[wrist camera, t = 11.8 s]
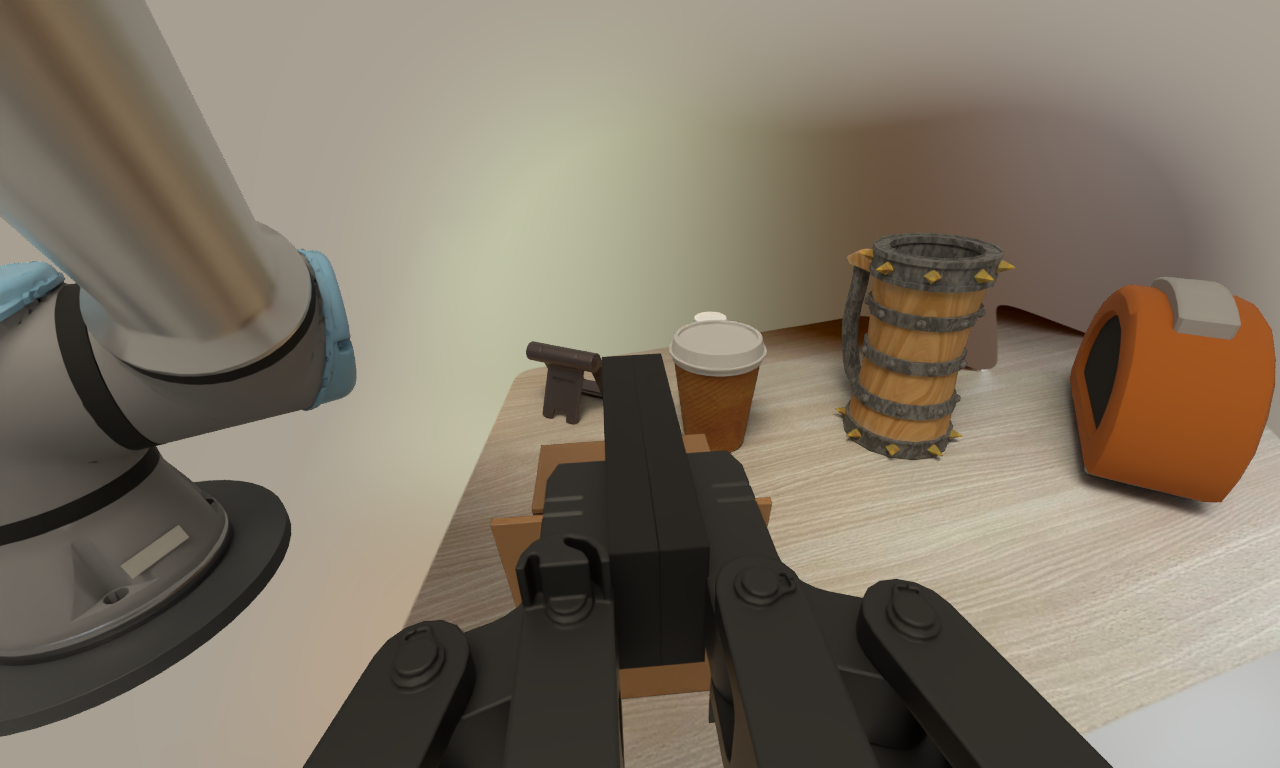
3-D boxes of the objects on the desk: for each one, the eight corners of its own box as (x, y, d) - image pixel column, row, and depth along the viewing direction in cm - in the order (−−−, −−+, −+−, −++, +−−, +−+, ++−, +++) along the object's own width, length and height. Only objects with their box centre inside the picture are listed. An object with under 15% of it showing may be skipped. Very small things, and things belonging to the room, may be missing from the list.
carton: (702, 521, 47) (705, 432, 42) (744, 687, 34) (754, 584, 29) (553, 533, 46) (540, 444, 42) (537, 707, 33) (516, 605, 29)
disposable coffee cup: (701, 475, 52) (703, 366, 47) (654, 429, 60) (651, 330, 54) (777, 447, 56) (788, 342, 50) (724, 406, 64) (729, 311, 58)
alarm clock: (1063, 384, 66) (1117, 247, 58) (1159, 401, 61) (1231, 257, 53) (1079, 493, 48) (1159, 321, 40) (1215, 529, 44) (1334, 343, 36)
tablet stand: (624, 397, 66) (621, 335, 62) (592, 429, 60) (586, 363, 56) (565, 383, 70) (558, 324, 66) (528, 413, 64) (518, 349, 60)
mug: (887, 479, 51) (935, 275, 41) (787, 396, 65) (805, 230, 56) (991, 449, 54) (1058, 254, 45) (874, 377, 69) (905, 217, 59)
